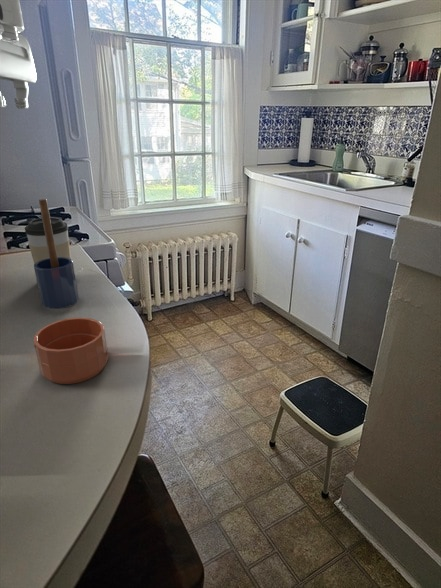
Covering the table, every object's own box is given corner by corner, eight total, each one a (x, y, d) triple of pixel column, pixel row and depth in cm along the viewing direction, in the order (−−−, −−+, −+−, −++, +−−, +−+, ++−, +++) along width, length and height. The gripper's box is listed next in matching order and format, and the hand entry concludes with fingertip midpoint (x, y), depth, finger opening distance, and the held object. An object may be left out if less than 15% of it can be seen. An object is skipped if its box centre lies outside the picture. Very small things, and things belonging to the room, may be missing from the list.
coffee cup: (37, 276, 96) (25, 216, 89) (76, 272, 98) (67, 213, 92) (34, 291, 88) (20, 225, 82) (76, 286, 90) (66, 222, 84)
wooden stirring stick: (55, 303, 81) (35, 201, 72) (60, 297, 83) (42, 197, 75) (62, 303, 81) (43, 201, 72) (67, 297, 83) (49, 197, 75)
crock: (36, 311, 79) (27, 269, 75) (49, 296, 85) (42, 257, 82) (72, 310, 79) (65, 269, 75) (83, 295, 86) (76, 256, 82)
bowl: (30, 387, 57) (21, 351, 54) (54, 349, 66) (48, 317, 63) (99, 385, 57) (94, 350, 55) (114, 348, 66) (110, 316, 64)
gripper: (3, 28, 74) (18, 109, 80) (-65, -2, 55) (-39, 106, 61) (37, 28, 74) (50, 109, 80) (-20, -1, 55) (2, 107, 61)
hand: (11, 108), depth 70 cm, fingers open, 8 cm apart
